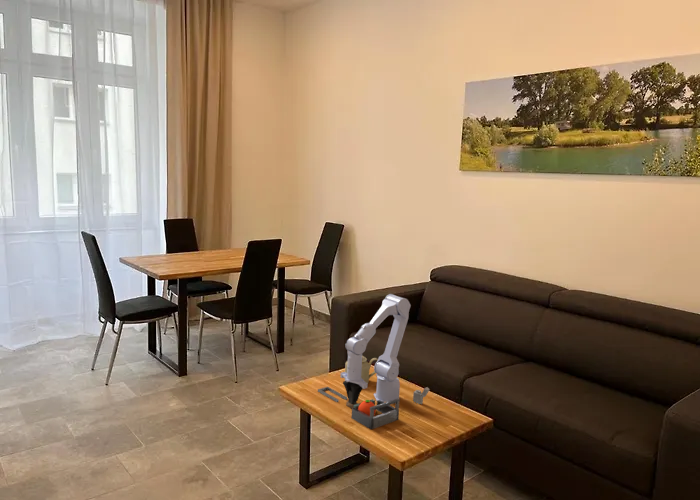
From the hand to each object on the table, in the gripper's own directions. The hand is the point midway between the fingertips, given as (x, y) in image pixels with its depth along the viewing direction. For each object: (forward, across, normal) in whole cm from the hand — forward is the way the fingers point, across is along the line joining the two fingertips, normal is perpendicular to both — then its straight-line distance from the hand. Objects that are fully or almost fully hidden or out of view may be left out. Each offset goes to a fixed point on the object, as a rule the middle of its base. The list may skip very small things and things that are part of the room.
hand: (352, 399), depth 220 cm
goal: (+3, +13, 0) cm, 13 cm away
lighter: (+3, +14, +26) cm, 29 cm away
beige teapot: (+3, -19, +21) cm, 29 cm away
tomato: (+3, +11, -2) cm, 12 cm away
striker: (+3, +3, 0) cm, 4 cm away
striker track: (+3, -13, 0) cm, 13 cm away
